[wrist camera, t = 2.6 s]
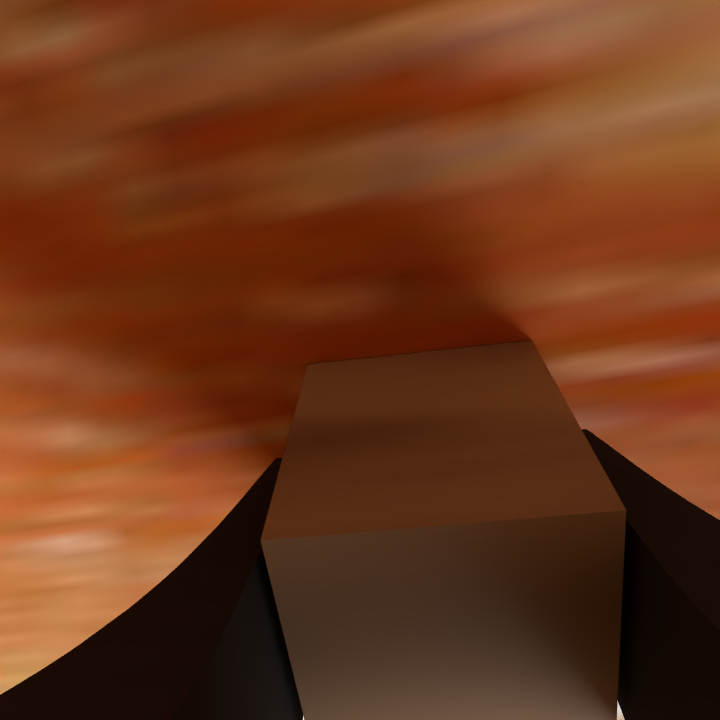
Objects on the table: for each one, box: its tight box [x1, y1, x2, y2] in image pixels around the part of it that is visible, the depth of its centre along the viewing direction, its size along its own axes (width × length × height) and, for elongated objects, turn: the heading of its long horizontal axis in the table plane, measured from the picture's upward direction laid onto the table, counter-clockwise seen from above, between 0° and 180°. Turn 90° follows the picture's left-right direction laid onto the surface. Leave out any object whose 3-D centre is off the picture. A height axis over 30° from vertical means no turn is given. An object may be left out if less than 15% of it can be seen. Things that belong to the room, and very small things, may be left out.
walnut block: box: [261, 340, 626, 720], centre depth 10 cm, size 4×4×5 cm
